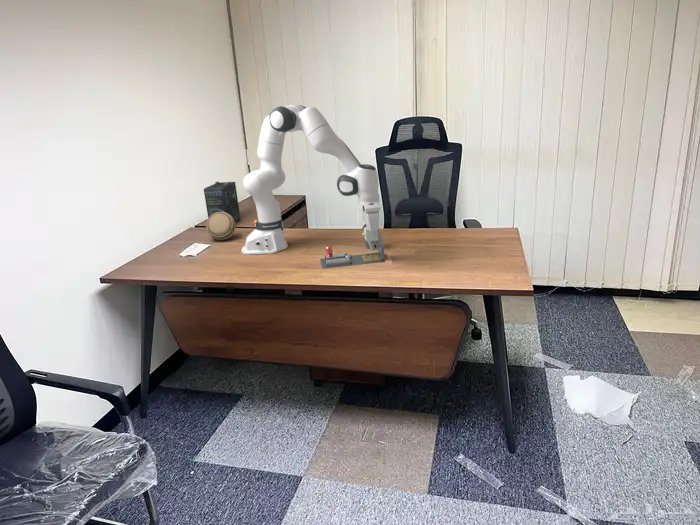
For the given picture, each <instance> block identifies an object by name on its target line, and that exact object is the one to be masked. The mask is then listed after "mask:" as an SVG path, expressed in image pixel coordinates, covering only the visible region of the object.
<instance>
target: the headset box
mask: <svg viewBox="0 0 700 525" xmlns="http://www.w3.org/2000/svg"><path fill="white" fill-rule="evenodd" d="M203 194H204V199H205V206H206V212H207V219H208V218H209V217H210V216H211V215H212V214H214V213H216V212H225V213H228V214H229V215H231V216H232V217H233V219H234V221H235V224H237V223H238V222H239V221H241V220H240V219H241V213H240V205H239V201H238V199H239V198H238V193H237V184H236V181H227V182H226V181H224V182H220V181H215V182H214V184H211V185H209V186H207V187H204V188H203ZM238 220H239V221H238ZM237 221H238V222H237ZM236 222H237V223H236Z"/></svg>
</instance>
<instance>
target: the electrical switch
mask: <svg viewBox="0 0 700 525" xmlns="http://www.w3.org/2000/svg"><path fill="white" fill-rule="evenodd" d="M377 231H378V240H376V241H367V242H366V240H365V238H364V236H363V235H362V237H363V240H364V244H365V248H366V250H370V251H375V250H376V249H377V241H380V242H381V243H382V245H383V246H384V241H383V237H382V234H381V230H380V228H379V229H378V230H377Z"/></svg>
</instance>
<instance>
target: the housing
mask: <svg viewBox="0 0 700 525" xmlns="http://www.w3.org/2000/svg"><path fill="white" fill-rule="evenodd" d="M361 233H362V232H361ZM361 235H362V237H363V236H364V238H365V240H366V242H367V241H376V240H378V231H377V230H375V233H374V236H375V237H374V238H370V230H369V228H368V227H366V226H364V227H363V233H362V234H361ZM364 238H363V239H364ZM367 243H368V242H367Z"/></svg>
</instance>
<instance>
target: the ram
mask: <svg viewBox="0 0 700 525" xmlns="http://www.w3.org/2000/svg"><path fill="white" fill-rule="evenodd" d="M325 252H326V260H328V259H337V258H346V257H349V259H352V254H348V255H345V254H343V253H336V254H335V253H333V245H325ZM334 254H335V255H334Z"/></svg>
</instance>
